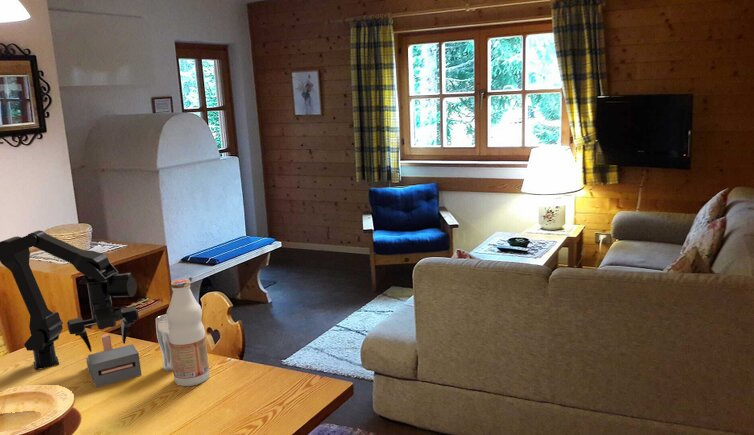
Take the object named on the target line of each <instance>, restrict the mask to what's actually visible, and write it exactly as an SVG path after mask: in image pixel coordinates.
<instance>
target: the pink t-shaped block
mask: <svg viewBox="0 0 754 435" xmlns="http://www.w3.org/2000/svg"><path fill="white" fill-rule="evenodd" d="M111 339H112V338H111V336H110V334H109V333H107V334H103V335H101V341H102V342H101V343H102V347H103V351H107V350H111V349H113V345H112V340H111ZM131 366H133V365H132V363H127V364H123V365H119V366H115V367H111V368H107V369H104V370H100V371H101V373H102V374H105V373H108V372H112V371H116V370H120V369H124V368H128V367H131Z"/></svg>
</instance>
